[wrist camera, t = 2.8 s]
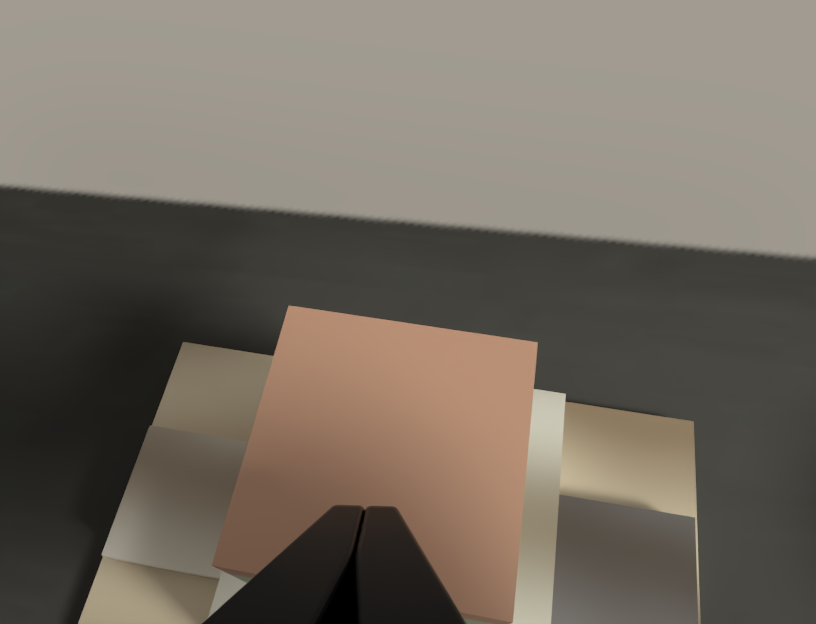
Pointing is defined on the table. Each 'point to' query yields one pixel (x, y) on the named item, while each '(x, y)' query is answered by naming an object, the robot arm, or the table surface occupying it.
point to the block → (392, 447)
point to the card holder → (541, 520)
